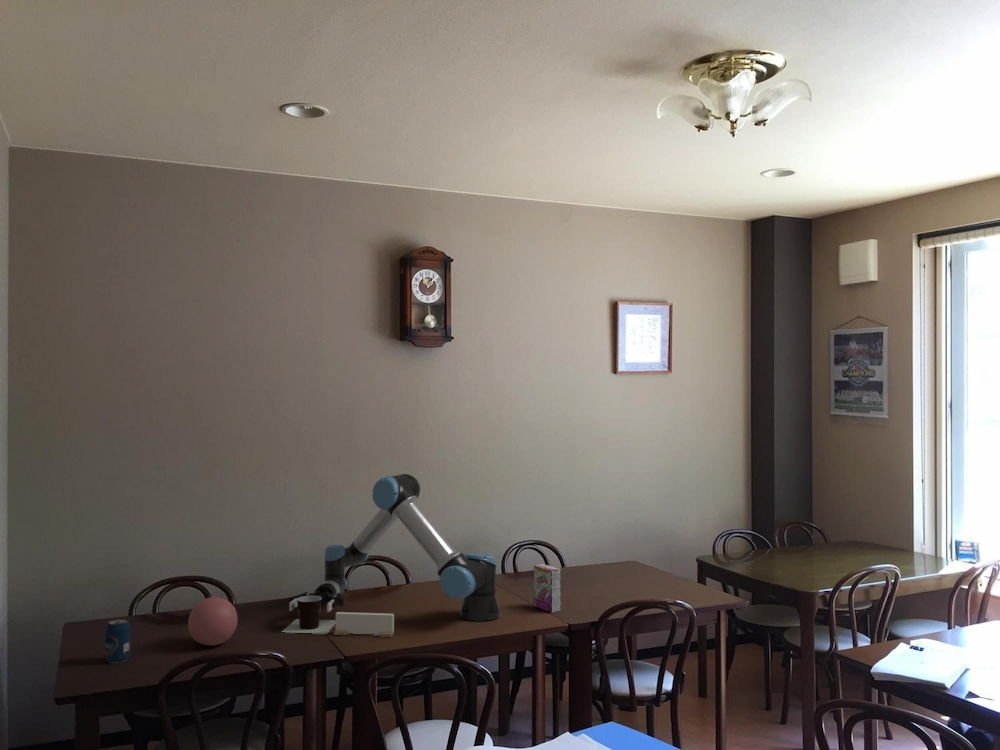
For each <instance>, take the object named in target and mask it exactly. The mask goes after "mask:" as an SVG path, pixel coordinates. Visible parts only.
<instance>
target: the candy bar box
mask: <svg viewBox="0 0 1000 750" xmlns="http://www.w3.org/2000/svg"><path fill="white" fill-rule="evenodd" d="M561 571H562V569H561V568H558V567H554V566H551V565H548V564H544V563H540V564H535V565H533V608H536V607H537V609H540V610H542V611H545V612H547V613H551V614H553V613H554V612H555V613H559V612H561V611H562V609H561V608H562V607H561V605H562V604H561V602H562V601H561V600H562V598H561V596H562V592H561V591H562V590H561V589H562V583H561V582H562V581H561V578H562V576H561V575H562V573H561Z"/></svg>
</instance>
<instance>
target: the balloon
mask: <svg viewBox="0 0 1000 750" xmlns="http://www.w3.org/2000/svg"><path fill="white" fill-rule="evenodd" d="M237 612H238V611H237V609H236V608H235V606H234V605H233V604H232V603H231V602H230V601H229V600H228V599H225V598H223V597H218V596H213V597H211V596H210V597H208V598H205V599H203V600H201V601H198V603H196V605H195V606H194V607H193V608H192V609H191V611H190V614H189V616H188V620H187V621H188V622H187V627H188V631H189V634H190V636H191V637H192V639H194V641H196V642H197V643H199V644H200V645H203V646H209V647H214V646H218V645H221V644H223V643H224V642H227V641H228V640H229V639H230V638H231V637H232V636H233V635H234V633H235V631H236V630H237V626H238V619H239V618H238V613H237Z"/></svg>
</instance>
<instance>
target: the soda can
mask: <svg viewBox="0 0 1000 750" xmlns="http://www.w3.org/2000/svg"><path fill="white" fill-rule="evenodd" d="M104 653H105V656H104V658H105V660H106V661H107V662H108V663H109V664H120V663H119V662H121V663H124V662H127V661H128V660H129V658H130V656H131V624H130V621H129V619H127V618H116V619H112V620H109V621H108V622H107V625H106V627H105V652H104ZM123 661H124V662H123Z"/></svg>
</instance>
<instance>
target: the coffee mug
mask: <svg viewBox="0 0 1000 750" xmlns="http://www.w3.org/2000/svg"><path fill="white" fill-rule="evenodd" d="M321 602H322V597H320V596H303V597H299V598H298V599H297V604H298V606H297V611H298V619H299V623H300V628H301V629H304V630H311V629H316V628H318V626H319V620H320V617H321V610H322V604H321Z"/></svg>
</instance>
